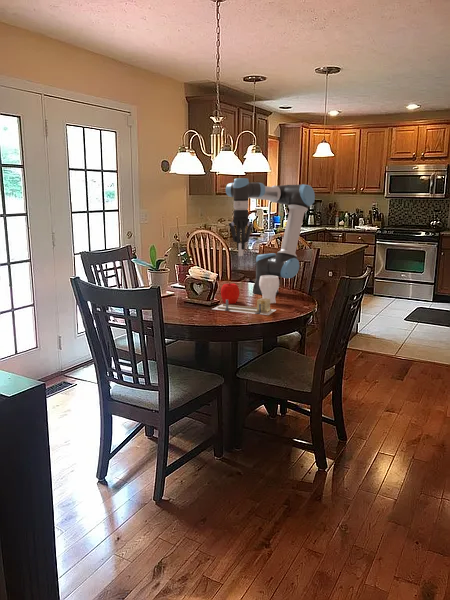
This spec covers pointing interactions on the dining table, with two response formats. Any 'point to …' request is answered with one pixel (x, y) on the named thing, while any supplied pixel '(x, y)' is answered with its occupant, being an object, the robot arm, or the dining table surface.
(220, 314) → the dining table surface
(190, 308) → the dining table surface
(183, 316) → the dining table surface
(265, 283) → the cup
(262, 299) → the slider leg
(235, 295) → the apple
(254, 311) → the board
